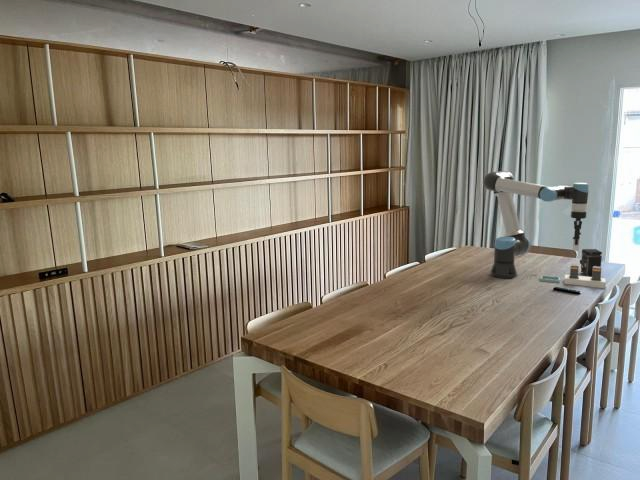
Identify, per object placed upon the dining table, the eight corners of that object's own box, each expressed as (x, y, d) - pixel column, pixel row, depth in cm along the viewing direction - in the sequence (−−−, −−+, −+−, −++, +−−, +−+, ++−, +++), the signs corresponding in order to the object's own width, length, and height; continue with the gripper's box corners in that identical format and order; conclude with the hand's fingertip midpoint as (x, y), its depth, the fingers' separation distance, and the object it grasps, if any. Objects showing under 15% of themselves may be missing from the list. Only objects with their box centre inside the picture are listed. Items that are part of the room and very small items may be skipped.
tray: (540, 281, 273) (540, 278, 272) (541, 278, 279) (541, 275, 279) (559, 283, 268) (559, 280, 267) (560, 280, 275) (560, 277, 274)
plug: (569, 282, 267) (570, 265, 265) (569, 280, 270) (570, 264, 269) (577, 283, 265) (578, 266, 263) (577, 281, 269) (578, 264, 267)
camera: (593, 271, 291) (595, 248, 288) (602, 276, 281) (604, 251, 278) (576, 271, 292) (578, 248, 289) (584, 276, 282) (586, 251, 279)
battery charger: (564, 284, 266) (565, 266, 264) (564, 280, 274) (566, 263, 272) (605, 288, 257) (606, 269, 255) (604, 284, 264) (606, 266, 262)
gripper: (586, 214, 248) (583, 253, 252) (586, 208, 269) (583, 244, 273) (570, 213, 251) (567, 252, 255) (571, 207, 273) (569, 243, 277)
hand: (575, 248), depth 264 cm, fingers open, 13 cm apart
